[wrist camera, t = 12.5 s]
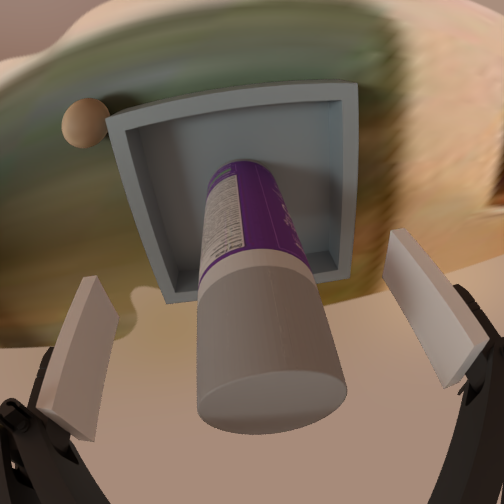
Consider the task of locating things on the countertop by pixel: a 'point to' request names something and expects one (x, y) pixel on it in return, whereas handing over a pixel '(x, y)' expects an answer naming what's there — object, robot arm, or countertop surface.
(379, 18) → the countertop surface
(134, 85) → the countertop surface
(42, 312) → the countertop surface
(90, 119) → the ball
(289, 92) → the tray
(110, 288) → the countertop surface
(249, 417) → the container
